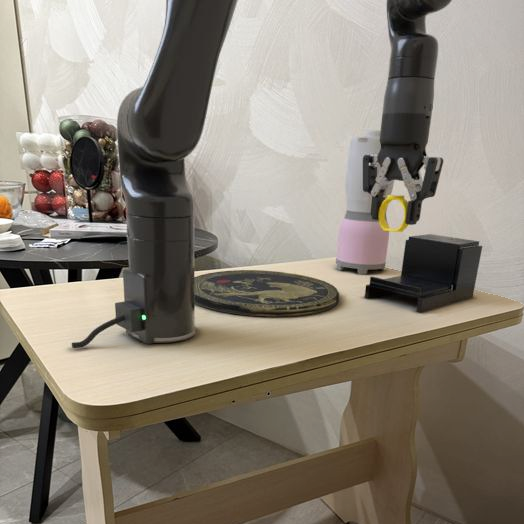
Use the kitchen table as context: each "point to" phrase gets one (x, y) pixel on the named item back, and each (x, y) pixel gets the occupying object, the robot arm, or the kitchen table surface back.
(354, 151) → the blender
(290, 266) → the kitchen table surface
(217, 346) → the kitchen table surface
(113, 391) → the kitchen table surface
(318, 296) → the decorative plate
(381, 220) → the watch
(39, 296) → the kitchen table surface
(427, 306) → the black stepped block
